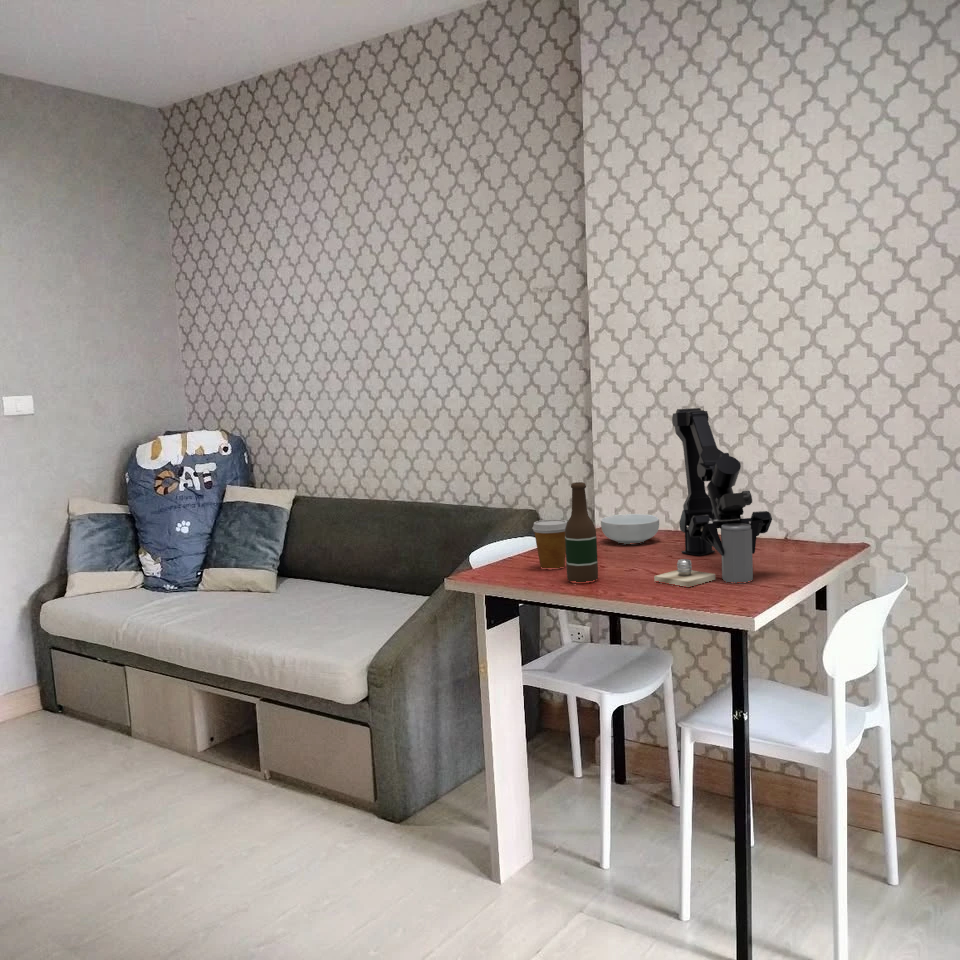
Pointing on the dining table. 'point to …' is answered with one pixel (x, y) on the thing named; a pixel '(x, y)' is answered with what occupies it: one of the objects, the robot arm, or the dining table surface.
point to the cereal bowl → (630, 527)
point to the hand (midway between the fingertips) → (738, 553)
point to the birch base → (685, 578)
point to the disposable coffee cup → (550, 542)
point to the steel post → (684, 567)
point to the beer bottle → (580, 539)
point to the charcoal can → (737, 552)
